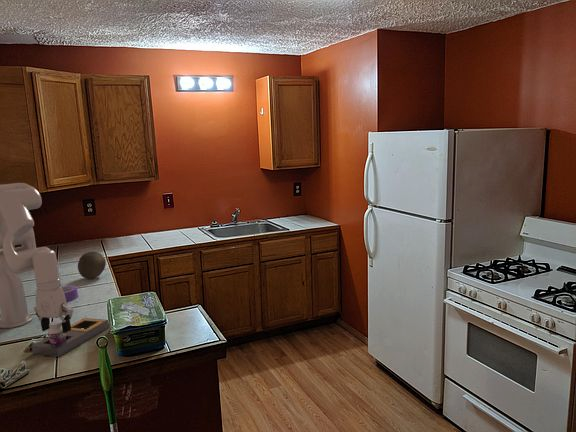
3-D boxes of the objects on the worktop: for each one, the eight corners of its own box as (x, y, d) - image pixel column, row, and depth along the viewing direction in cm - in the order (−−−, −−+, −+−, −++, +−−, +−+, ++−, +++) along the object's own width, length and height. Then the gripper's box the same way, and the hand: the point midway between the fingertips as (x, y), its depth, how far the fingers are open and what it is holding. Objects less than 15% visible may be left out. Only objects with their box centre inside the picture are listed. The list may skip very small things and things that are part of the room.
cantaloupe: (86, 283, 238) (82, 256, 236) (75, 279, 248) (71, 253, 245) (111, 276, 248) (108, 250, 246) (100, 272, 258) (96, 247, 255)
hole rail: (32, 353, 158) (31, 345, 157) (85, 324, 181) (84, 317, 180) (58, 356, 154) (57, 348, 153) (109, 327, 177) (108, 319, 176)
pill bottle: (47, 350, 159) (43, 325, 158) (58, 344, 164) (53, 319, 163) (60, 351, 158) (56, 325, 156) (70, 344, 163) (66, 319, 162)
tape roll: (79, 299, 214) (78, 289, 213) (52, 305, 208) (50, 295, 207) (76, 293, 224) (75, 283, 223) (50, 299, 218) (49, 289, 217)
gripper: (21, 287, 157) (29, 333, 159) (59, 289, 151) (67, 336, 153) (39, 281, 164) (47, 325, 166) (76, 282, 158) (83, 327, 160)
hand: (56, 330), depth 160 cm, fingers open, 9 cm apart
